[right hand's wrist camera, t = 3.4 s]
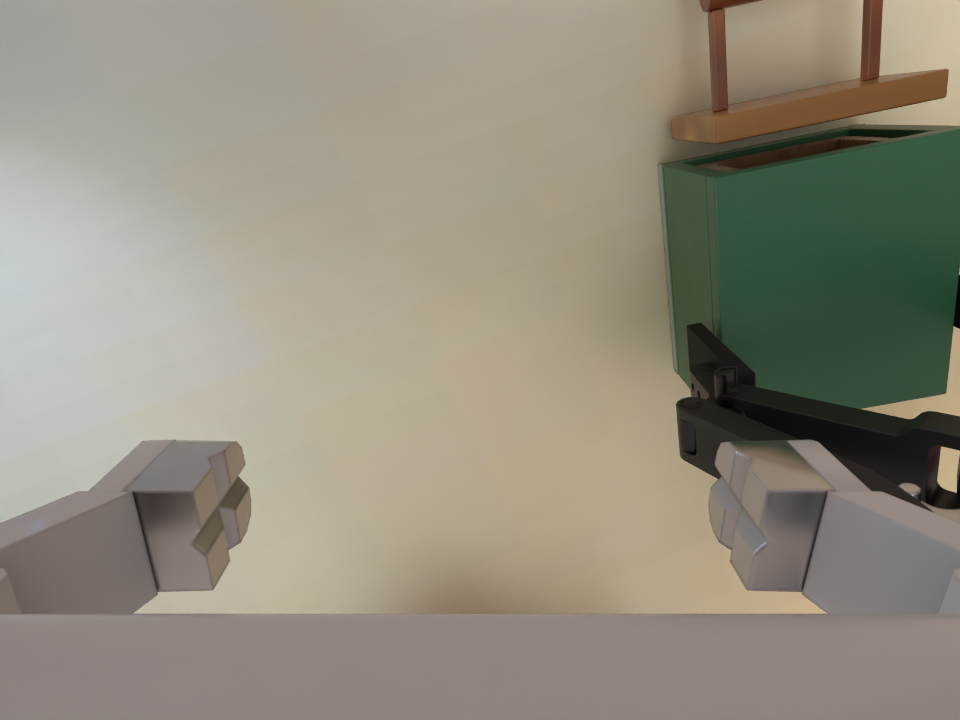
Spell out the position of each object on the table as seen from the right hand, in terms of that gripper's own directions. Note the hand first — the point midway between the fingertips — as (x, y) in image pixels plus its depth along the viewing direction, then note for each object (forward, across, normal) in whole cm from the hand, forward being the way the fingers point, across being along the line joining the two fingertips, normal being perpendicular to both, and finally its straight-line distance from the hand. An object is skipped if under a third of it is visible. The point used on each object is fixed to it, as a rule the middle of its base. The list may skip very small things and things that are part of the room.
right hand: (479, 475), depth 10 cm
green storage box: (+28, +17, -2) cm, 33 cm away
